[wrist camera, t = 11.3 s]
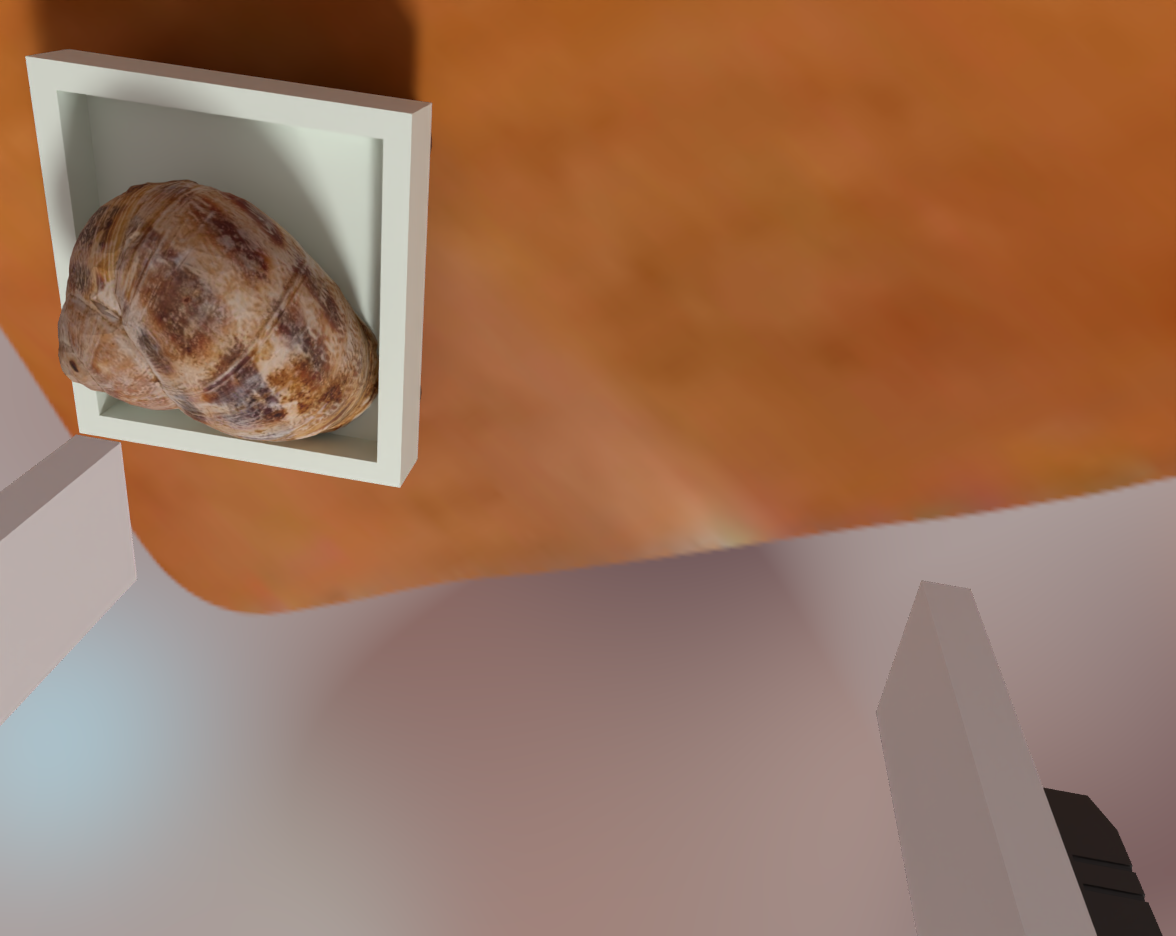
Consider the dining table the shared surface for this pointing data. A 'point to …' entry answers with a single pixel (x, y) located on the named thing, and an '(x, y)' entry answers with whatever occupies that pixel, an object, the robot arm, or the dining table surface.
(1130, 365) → the dining table surface
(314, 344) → the seashell
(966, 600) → the robot arm
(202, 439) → the shallow white square tray
